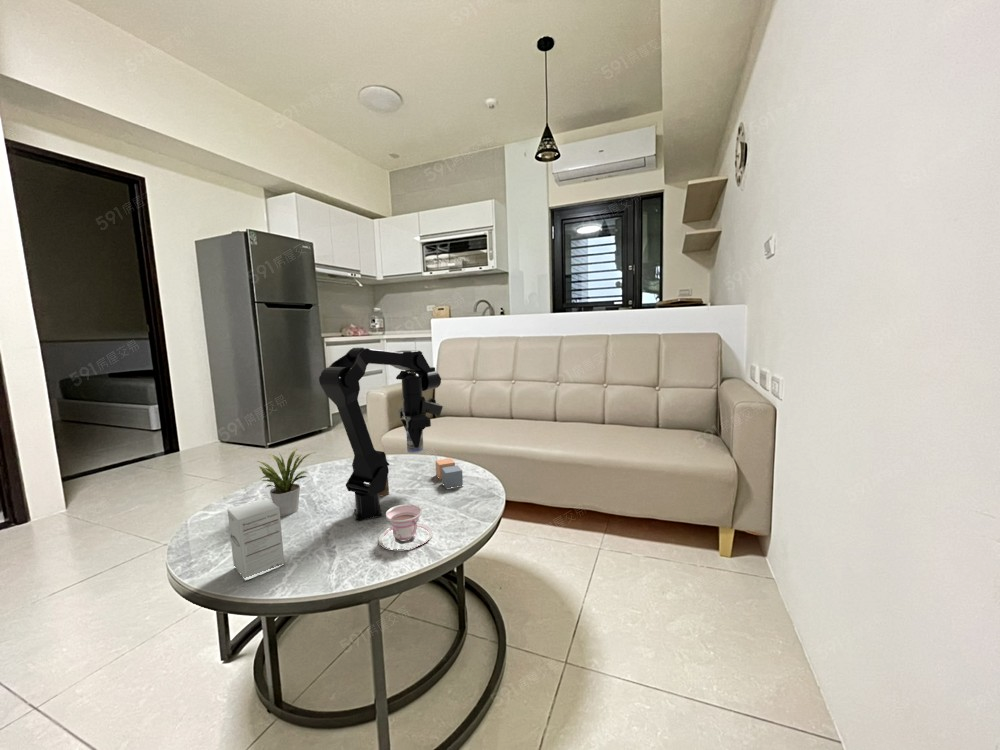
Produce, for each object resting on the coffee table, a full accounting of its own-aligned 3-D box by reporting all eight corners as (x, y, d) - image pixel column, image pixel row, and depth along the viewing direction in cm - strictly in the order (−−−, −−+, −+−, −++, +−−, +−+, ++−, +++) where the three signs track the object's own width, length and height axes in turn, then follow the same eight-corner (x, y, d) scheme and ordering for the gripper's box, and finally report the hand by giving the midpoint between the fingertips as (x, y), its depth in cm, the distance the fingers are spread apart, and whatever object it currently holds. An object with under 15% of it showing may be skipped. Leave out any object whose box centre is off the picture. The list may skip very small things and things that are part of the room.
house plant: (316, 493, 115) (311, 439, 114) (326, 510, 104) (321, 450, 102) (259, 507, 107) (253, 449, 106) (263, 527, 96) (257, 462, 94)
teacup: (369, 538, 90) (367, 512, 89) (414, 520, 98) (413, 496, 97) (395, 559, 81) (394, 531, 80) (443, 537, 89) (442, 511, 89)
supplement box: (232, 568, 79) (226, 508, 78) (273, 552, 85) (267, 496, 83) (243, 583, 74) (236, 519, 73) (285, 565, 80) (280, 506, 78)
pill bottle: (404, 452, 116) (402, 424, 115) (415, 448, 120) (414, 421, 119) (415, 454, 114) (413, 426, 113) (427, 450, 118) (425, 422, 117)
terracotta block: (455, 477, 125) (454, 462, 125) (440, 480, 123) (439, 464, 123) (451, 472, 130) (450, 458, 129) (436, 475, 128) (435, 460, 127)
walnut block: (389, 494, 114) (388, 477, 113) (370, 497, 112) (369, 480, 111) (387, 488, 118) (386, 472, 118) (369, 491, 116) (368, 475, 116)
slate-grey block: (462, 486, 118) (462, 470, 117) (446, 489, 116) (445, 473, 116) (458, 480, 123) (457, 465, 122) (442, 483, 121) (441, 467, 120)
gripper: (447, 395, 110) (449, 449, 111) (432, 387, 127) (434, 434, 128) (407, 398, 105) (410, 455, 107) (397, 390, 123) (399, 439, 124)
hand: (415, 445), depth 117 cm, fingers closed on pill bottle, 5 cm apart
